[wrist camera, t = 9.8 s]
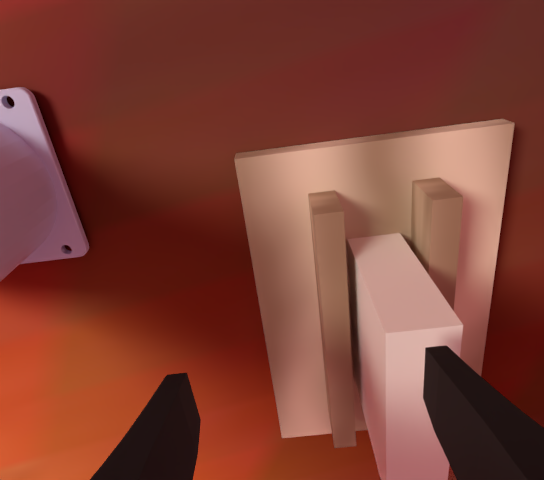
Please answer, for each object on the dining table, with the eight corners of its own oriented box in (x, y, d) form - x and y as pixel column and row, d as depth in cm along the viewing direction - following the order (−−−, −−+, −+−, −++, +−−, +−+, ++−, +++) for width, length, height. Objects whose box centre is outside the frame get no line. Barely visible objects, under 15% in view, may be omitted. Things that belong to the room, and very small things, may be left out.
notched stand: (281, 424, 27) (283, 476, 23) (235, 153, 19) (229, 176, 16) (468, 406, 26) (495, 456, 23) (502, 118, 18) (551, 135, 15)
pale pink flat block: (354, 378, 24) (386, 501, 17) (347, 238, 20) (385, 333, 13) (398, 373, 23) (447, 495, 17) (400, 232, 19) (464, 324, 13)
